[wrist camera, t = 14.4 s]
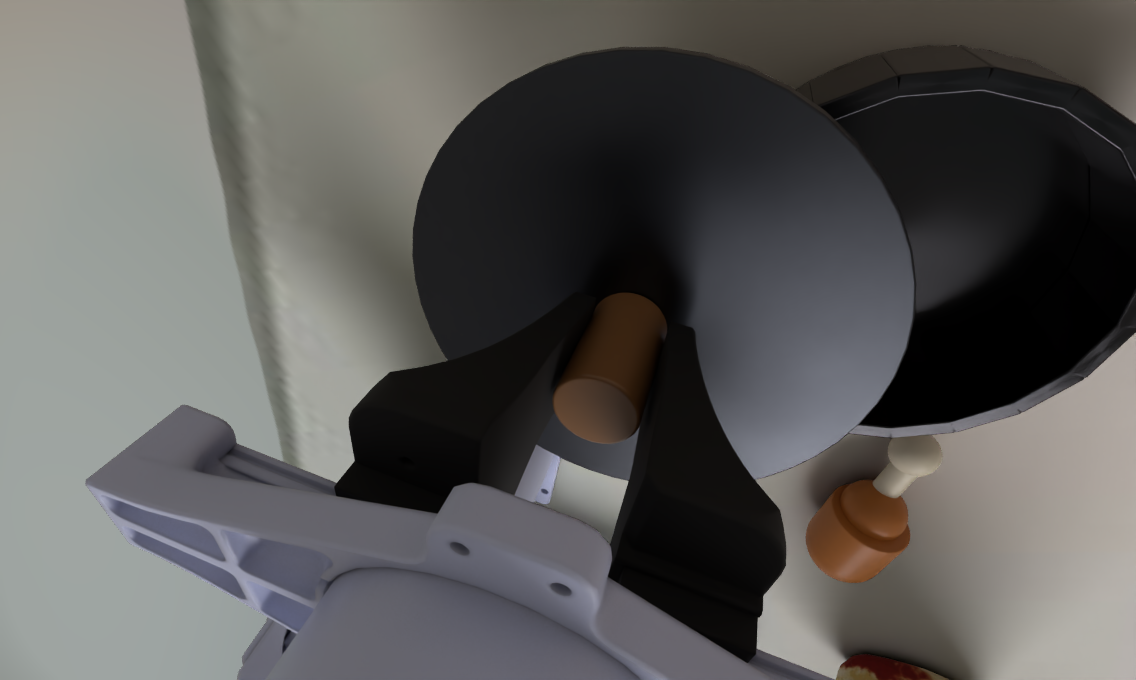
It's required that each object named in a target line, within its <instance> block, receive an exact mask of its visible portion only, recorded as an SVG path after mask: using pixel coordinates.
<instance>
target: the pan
mask: <svg viewBox="0 0 1136 680" xmlns="http://www.w3.org/2000/svg"><path fill="white" fill-rule="evenodd" d="M796 91H797V92H799V93H800V94H802V95H803V96H805V97H806V98H808V99H809V100H810V101H812V102H813V103H815V104H816V105H818V106H819V107H821V108H822V109H824V110H825V111H826V112H827V113H828V114H829V115H830V116H831V117H832V118H833V119H834V120H836V121H837V122H838V123H839V124H840V125H841V126H842V127H843V128H844V129H845V130H846V131H847V132H848V133H849V134H850V135H851V136H852V137H853V138H854V139H855V140H856V141H857V142H858V143H859V145H860V146H861V147H862V149H863V150H864V151H865V153H866V154H867V155H868V157H869V158H870V159H871V161H872V162H873V163H874V165H875V166H876V167H877V168H878V170H879V171H880V173H881V175H882V176H883V178H884V180H885V182H886V184H887V186H888V188H889V190H890V192H891V194H892V196H893V198H894V200H895V201H896V203H897V205H898V207H899V210H900V212H901V215H902V218H903V221H904V225H905V228H906V231H907V234H908V237H909V240H910V244H911V247H912V252H913V260H914V267H915V275H916V283H917V285H916V304H915V318H914V322H913V327H912V331H911V335H910V339H909V344H908V348H907V350H906V353H905V355H904V357H903V360H902V362H901V364H900V367H899V369H898V371H897V374H896V376H895V378H894V379H893V381H892V382H891V384H890V385H889V387H888V389H887V390H886V392H885V393H884V395H883V396H882V398H881V400H880V401H879V402H878V404H877V405H876V406H875V407H874V408H873V409H872V410H871V411H870V413H869V414H868V415H867V416H866V417H865V418H864V419H863V421H862V422H861V423H860V424H859V425H857V426H856V427H855V428H854V429H853V430H852V431H850V432H849V433H848V434H858V435H867V436H876V437H885V438H890V437H891V438H899V437H910V436H921V435H932V434H944V433H954V432H959V431H962V430H966V429H969V428H973V427H976V426H979V425H983V424H986V423H990V422H993V421H997V420H1000V419H1003V418H1007V417H1010V416H1014V415H1017V414H1020V413H1021V412H1024V411H1026V410H1028V409H1030V408H1032V407H1034V406H1035V405H1037V404H1039V403H1041V402H1043V401H1045V400H1047V399H1048V398H1050V397H1052V396H1054V395H1056V394H1058V393H1059V392H1061V391H1063V390H1065V389H1067V388H1069V387H1071V386H1072V385H1074V384H1076V383H1078V382H1080V381H1082V380H1083V379H1084V378H1086V377H1088V376H1089V375H1090V374H1091V373H1092V372H1093V371H1094V370H1095V369H1096V368H1097V367H1099V366H1100V365H1101V364H1102V363H1103V362H1104V361H1105V360H1106V359H1107V358H1108V357H1109V356H1110V355H1112V354H1113V353H1114V352H1115V351H1116V350H1117V349H1118V348H1119V347H1120V346H1121V345H1122V344H1124V343H1125V342H1126V341H1127V340H1128V339H1129V338H1130V337H1131V336H1132V335H1133V334H1134V333H1136V124H1135V123H1134V122H1132V121H1131V120H1129V119H1128V118H1127V117H1125V116H1124V115H1122V114H1121V113H1120V112H1118V111H1117V110H1115V109H1114V108H1113V107H1111V106H1110V105H1108V104H1107V103H1106V102H1104V101H1103V100H1101V99H1100V98H1098V97H1097V96H1096V95H1094V94H1093V93H1091V92H1090V91H1089V90H1087V89H1086V88H1084V87H1082V86H1080V85H1078V84H1076V83H1074V82H1072V81H1070V80H1068V79H1066V78H1064V77H1062V76H1060V75H1058V74H1056V73H1054V72H1052V71H1050V70H1048V69H1046V68H1044V67H1042V66H1040V65H1038V64H1036V63H1034V62H1032V61H1030V60H1025V59H1021V58H1016V57H1012V56H1007V55H1004V54H1001V53H998V52H994V51H991V50H984V49H977V48H971V47H967V46H962V45H960V46H957V45H951V46H922V47H913V48H905V49H897V50H892V51H888V52H883V53H880V54H876V55H872V56H867V57H864V58H861V59H859V60H856V61H853V62H850V63H848V64H845V65H842V66H840V67H837V68H835V69H833V70H831V71H829V72H827V73H825V74H823V75H821V76H819V77H817V78H815V79H813V80H811V81H809V82H807V83H806V84H804V85H803V86H801V87H800V88H798V89H796Z"/></svg>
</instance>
